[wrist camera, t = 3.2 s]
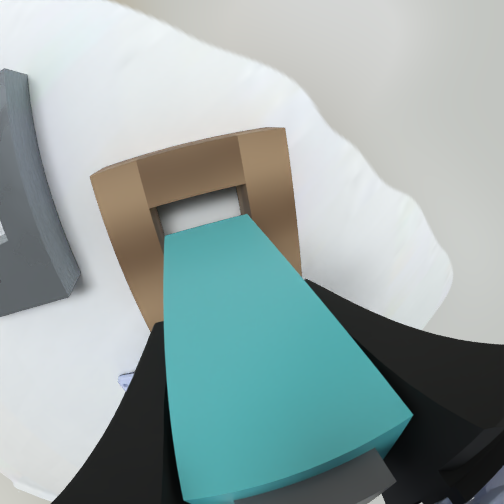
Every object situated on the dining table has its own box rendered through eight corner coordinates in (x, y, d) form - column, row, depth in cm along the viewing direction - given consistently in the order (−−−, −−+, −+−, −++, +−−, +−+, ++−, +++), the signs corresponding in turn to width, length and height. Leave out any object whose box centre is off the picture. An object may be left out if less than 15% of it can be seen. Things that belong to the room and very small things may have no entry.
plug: (259, 283, 14) (384, 494, 4) (187, 304, 13) (245, 547, 4) (247, 214, 12) (438, 449, 2) (164, 235, 11) (195, 546, 2)
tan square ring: (285, 268, 20) (302, 290, 18) (152, 306, 19) (151, 333, 16) (266, 127, 16) (285, 127, 13) (103, 167, 14) (89, 176, 11)
